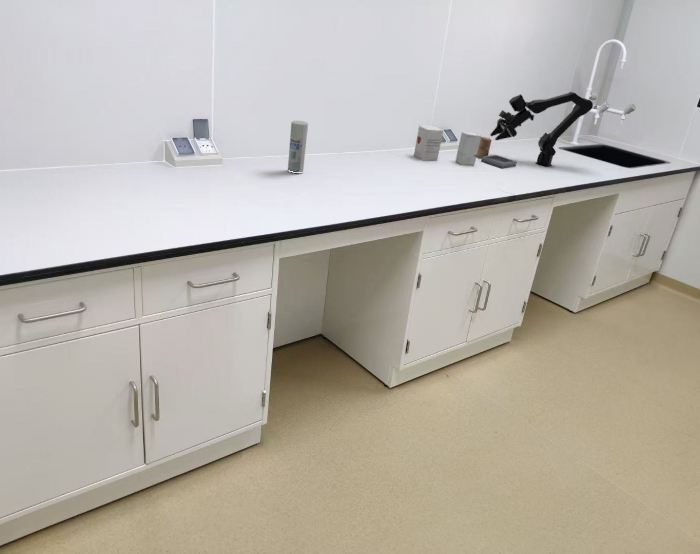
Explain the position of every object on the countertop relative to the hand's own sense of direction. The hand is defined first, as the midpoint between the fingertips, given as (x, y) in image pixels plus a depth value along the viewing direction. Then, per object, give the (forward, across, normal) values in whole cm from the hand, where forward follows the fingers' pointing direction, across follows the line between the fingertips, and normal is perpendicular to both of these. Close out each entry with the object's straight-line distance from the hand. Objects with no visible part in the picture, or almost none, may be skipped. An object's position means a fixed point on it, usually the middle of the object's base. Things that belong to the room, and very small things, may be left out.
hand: (492, 137), depth 301 cm
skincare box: (+20, +17, -4) cm, 26 cm away
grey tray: (+6, +10, +9) cm, 15 cm away
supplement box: (+34, +16, -18) cm, 41 cm away
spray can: (+78, +65, -62) cm, 119 cm away
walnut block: (+10, 0, +5) cm, 11 cm away
